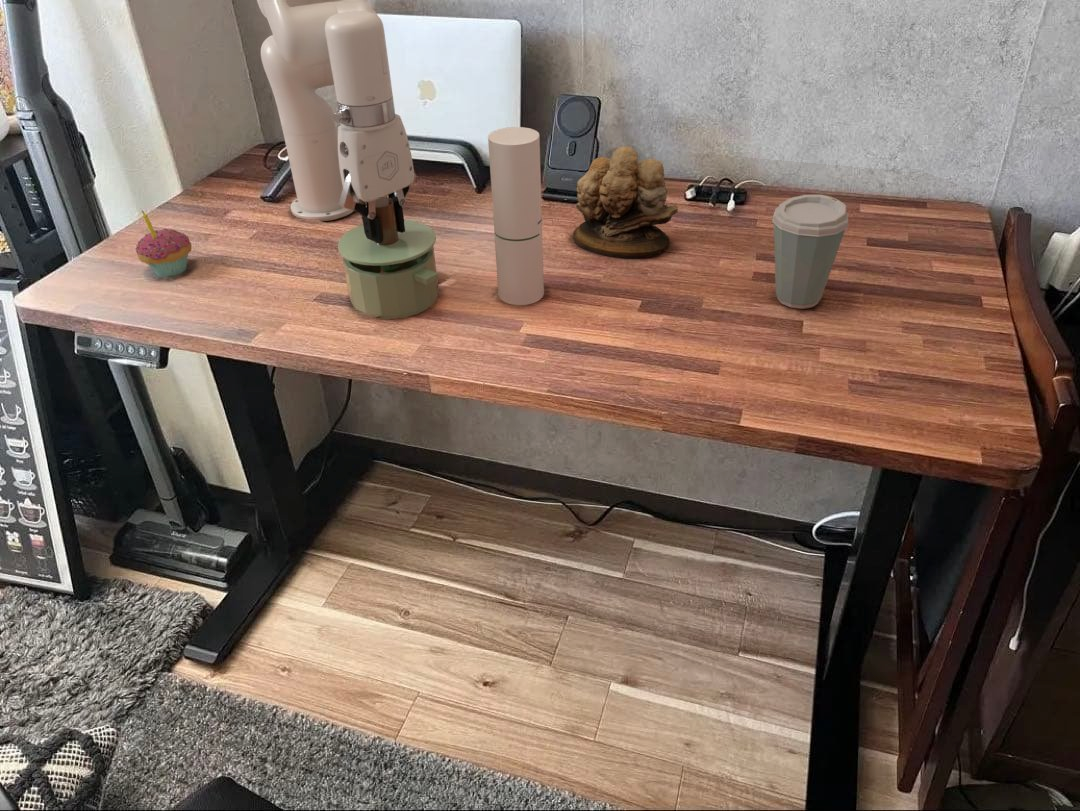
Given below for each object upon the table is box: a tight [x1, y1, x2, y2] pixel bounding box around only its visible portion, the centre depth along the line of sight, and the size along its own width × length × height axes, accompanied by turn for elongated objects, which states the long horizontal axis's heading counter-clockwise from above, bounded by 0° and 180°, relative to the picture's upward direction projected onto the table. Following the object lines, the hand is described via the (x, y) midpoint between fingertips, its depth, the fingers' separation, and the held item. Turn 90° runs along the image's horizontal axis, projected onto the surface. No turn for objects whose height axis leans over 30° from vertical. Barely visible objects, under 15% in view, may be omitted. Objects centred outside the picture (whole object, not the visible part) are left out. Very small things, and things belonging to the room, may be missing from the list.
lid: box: [337, 196, 437, 266], centre depth 125 cm, size 15×15×7 cm
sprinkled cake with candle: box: [135, 209, 192, 278], centre depth 138 cm, size 9×8×12 cm
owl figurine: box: [572, 145, 679, 259], centre depth 140 cm, size 18×12×17 cm, turn 69°
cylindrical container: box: [487, 126, 545, 306], centre depth 125 cm, size 7×7×25 cm
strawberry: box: [379, 263, 403, 273], centre depth 131 cm, size 4×4×6 cm
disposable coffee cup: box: [771, 194, 849, 310], centre depth 125 cm, size 11×11×15 cm
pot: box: [342, 246, 439, 320], centre depth 131 cm, size 14×19×8 cm
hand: (385, 233), depth 126 cm, fingers closed on lid, 3 cm apart
